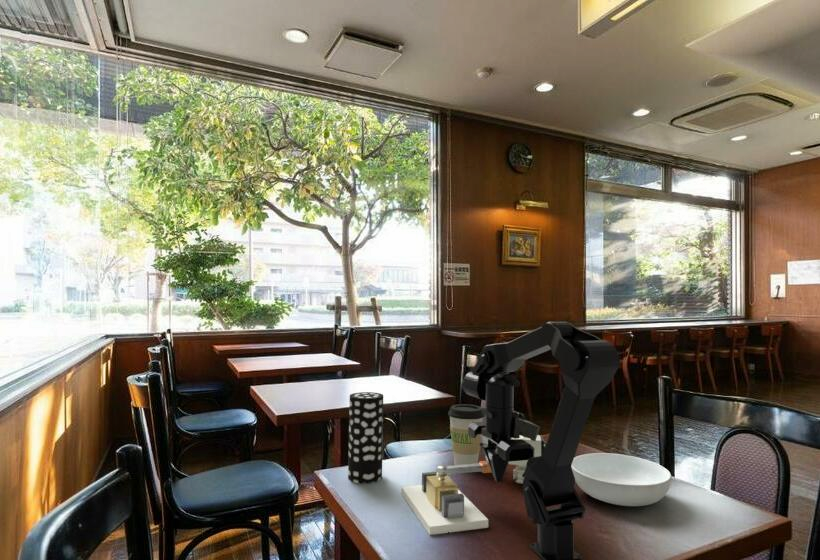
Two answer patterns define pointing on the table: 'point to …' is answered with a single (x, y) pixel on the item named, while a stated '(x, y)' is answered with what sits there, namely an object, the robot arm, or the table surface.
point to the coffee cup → (465, 433)
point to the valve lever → (462, 469)
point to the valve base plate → (433, 516)
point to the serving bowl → (621, 478)
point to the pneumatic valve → (520, 469)
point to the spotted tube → (365, 437)
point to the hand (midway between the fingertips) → (498, 481)
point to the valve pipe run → (443, 495)
